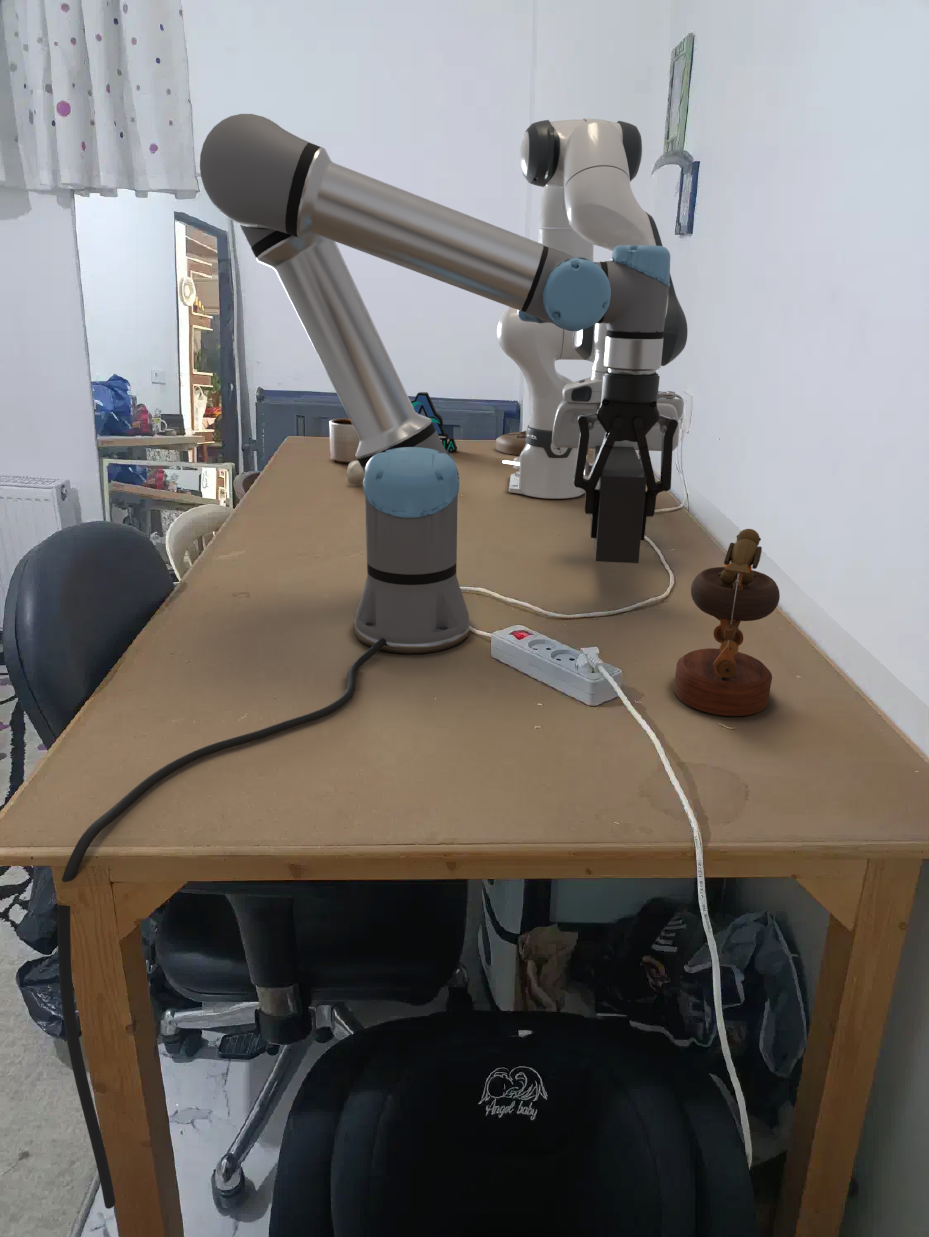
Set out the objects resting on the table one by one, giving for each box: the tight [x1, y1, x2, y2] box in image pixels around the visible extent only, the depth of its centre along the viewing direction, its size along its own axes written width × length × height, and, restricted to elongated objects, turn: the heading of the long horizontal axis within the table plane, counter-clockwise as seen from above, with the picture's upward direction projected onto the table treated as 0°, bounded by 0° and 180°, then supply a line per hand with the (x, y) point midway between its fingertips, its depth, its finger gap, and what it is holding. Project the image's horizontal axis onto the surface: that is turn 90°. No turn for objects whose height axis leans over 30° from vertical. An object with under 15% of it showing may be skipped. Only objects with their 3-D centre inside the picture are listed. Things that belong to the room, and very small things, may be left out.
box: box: [589, 446, 647, 564], centre depth 130 cm, size 28×6×12 cm, turn 174°
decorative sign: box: [410, 391, 458, 453], centre depth 224 cm, size 19×2×15 cm, turn 86°
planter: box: [328, 417, 359, 464], centre depth 212 cm, size 11×11×10 cm
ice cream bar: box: [495, 430, 527, 456], centre depth 223 cm, size 21×28×4 cm
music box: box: [673, 528, 781, 717], centre depth 94 cm, size 15×11×20 cm
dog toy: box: [346, 461, 365, 485], centre depth 190 cm, size 20×6×5 cm, turn 99°
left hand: (616, 536), depth 122 cm, fingers closed on box, 6 cm apart
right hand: (611, 476), depth 139 cm, fingers closed on box, 6 cm apart
